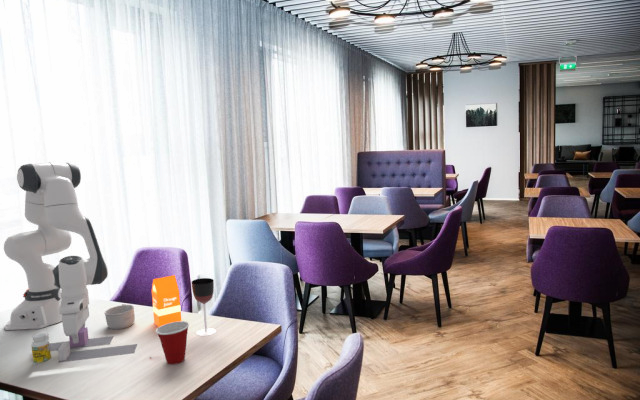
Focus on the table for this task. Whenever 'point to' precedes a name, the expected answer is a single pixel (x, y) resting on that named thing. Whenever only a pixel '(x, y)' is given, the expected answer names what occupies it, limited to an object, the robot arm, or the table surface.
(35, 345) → the supplement bottle
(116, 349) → the empty strip
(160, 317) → the orange juice
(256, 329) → the table surface
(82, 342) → the plum block
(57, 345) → the cube strip
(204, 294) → the wineglass
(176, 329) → the plastic cup
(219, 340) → the table surface
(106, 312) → the teacup
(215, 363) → the table surface
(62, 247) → the robot arm
